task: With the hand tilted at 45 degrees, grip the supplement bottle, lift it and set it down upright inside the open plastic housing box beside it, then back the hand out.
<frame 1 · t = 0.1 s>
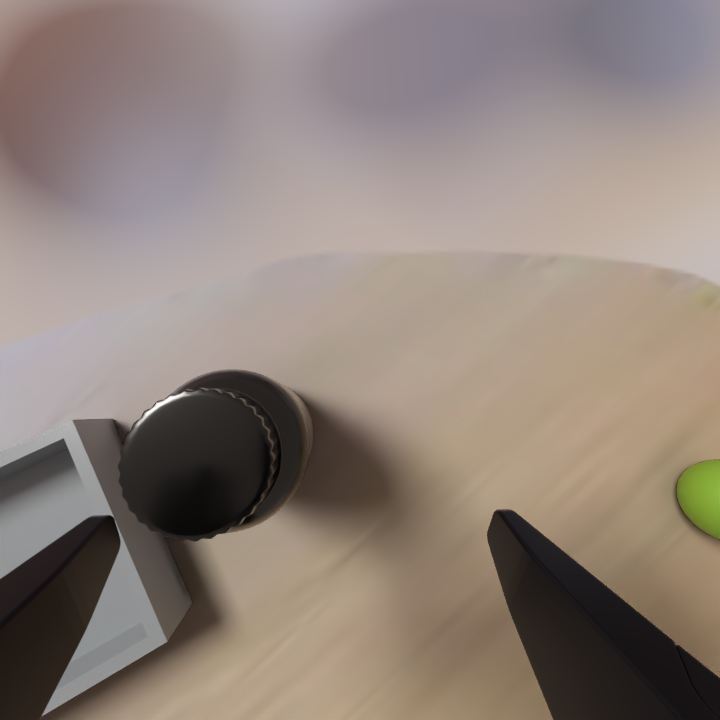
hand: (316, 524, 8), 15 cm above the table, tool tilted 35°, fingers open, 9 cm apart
snail figurine: (681, 485, 26), on the table
housing box: (46, 562, 20), on the table
supplement bottle: (262, 434, 23), on the table
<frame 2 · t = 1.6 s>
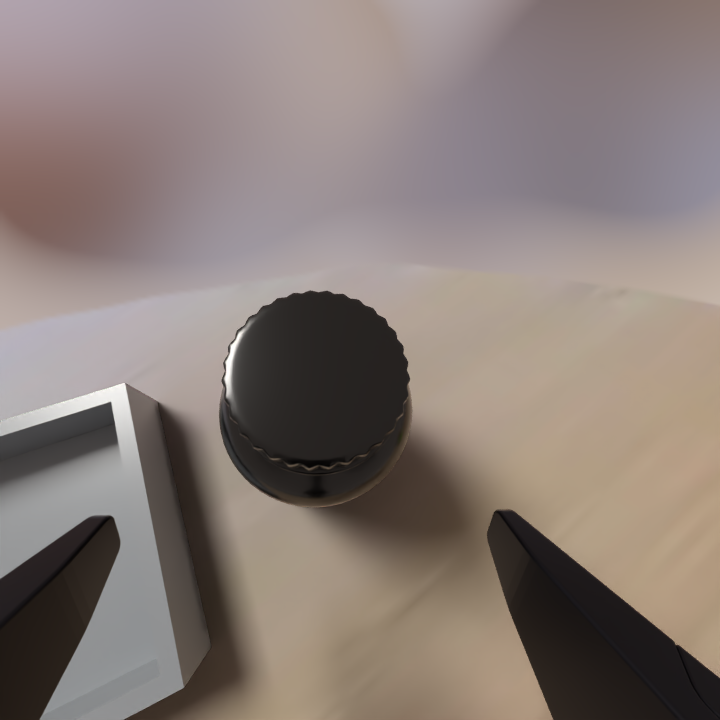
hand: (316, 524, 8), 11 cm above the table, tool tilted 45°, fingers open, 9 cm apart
housing box: (43, 566, 16), on the table
supplement bottle: (318, 437, 20), on the table
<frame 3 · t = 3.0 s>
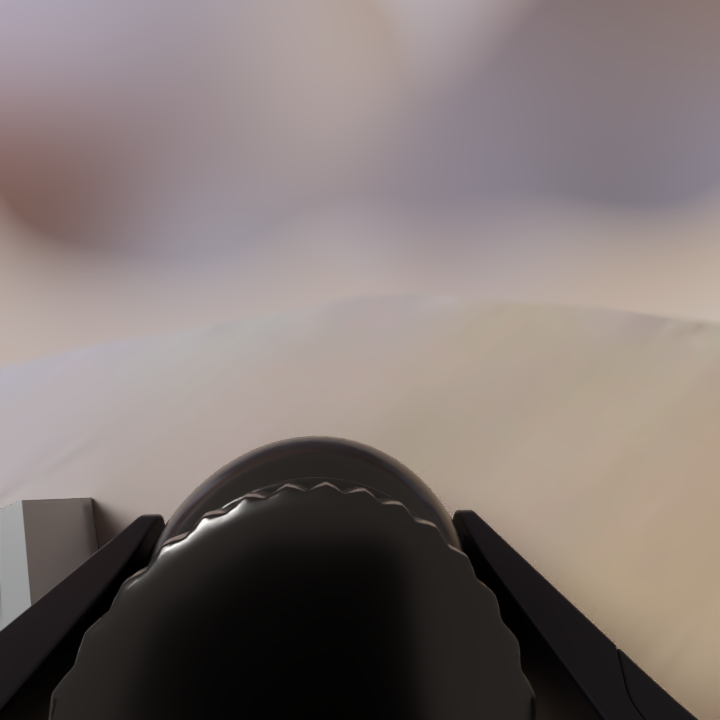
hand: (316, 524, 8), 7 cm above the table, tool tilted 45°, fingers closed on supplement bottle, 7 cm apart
supplement bottle: (314, 543, 14), on the table, touching gripper
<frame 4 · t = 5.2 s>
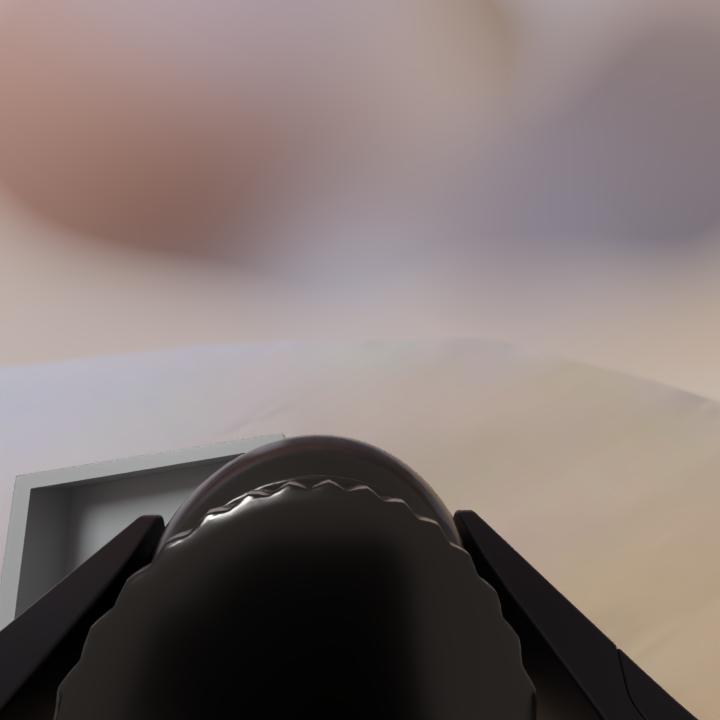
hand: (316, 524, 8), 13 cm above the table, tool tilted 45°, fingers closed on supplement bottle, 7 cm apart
housing box: (184, 574, 18), on the table
supplement bottle: (316, 542, 14), point 6 cm above the table, touching gripper
when the fingers open (9 cm above the table, at t = 7.3 s): supplement bottle drops 1 cm, resting on housing box.
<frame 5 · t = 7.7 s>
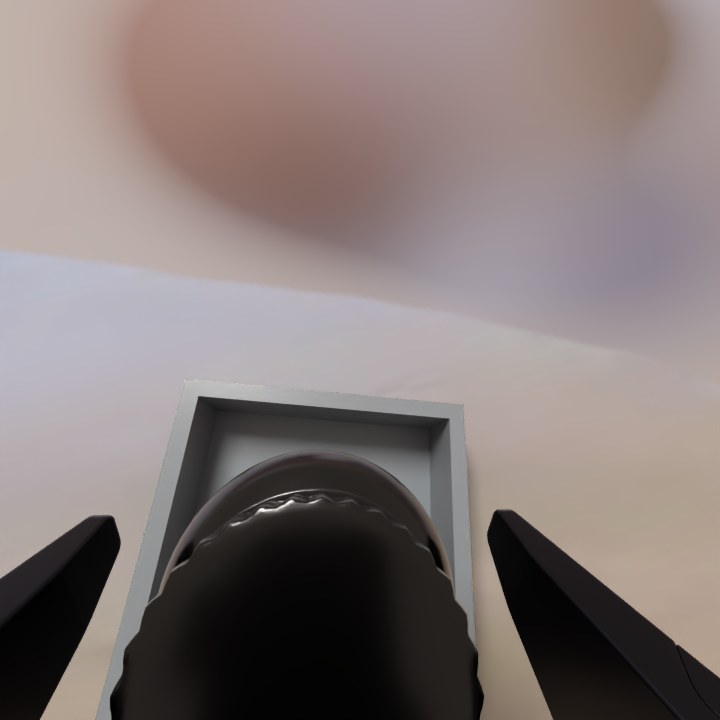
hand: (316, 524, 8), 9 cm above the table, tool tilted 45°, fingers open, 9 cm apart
housing box: (314, 537, 16), on the table
supplement bottle: (314, 543, 16), resting on housing box
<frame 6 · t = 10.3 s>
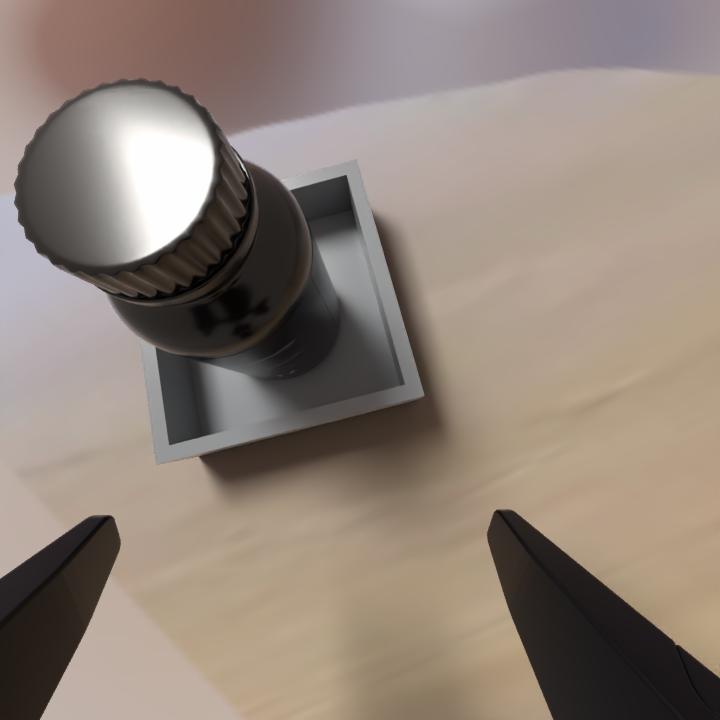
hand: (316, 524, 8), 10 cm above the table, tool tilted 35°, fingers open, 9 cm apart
housing box: (283, 323, 20), on the table
supplement bottle: (283, 323, 19), resting on housing box
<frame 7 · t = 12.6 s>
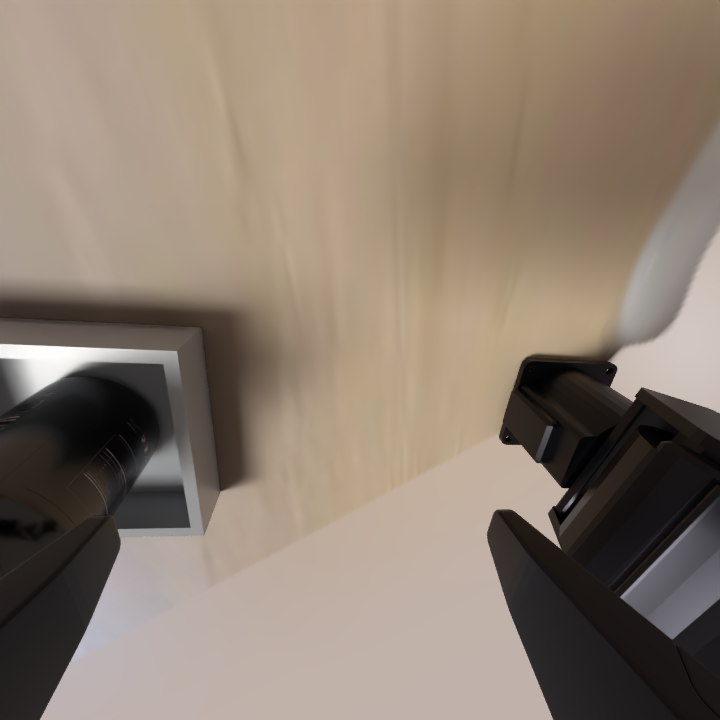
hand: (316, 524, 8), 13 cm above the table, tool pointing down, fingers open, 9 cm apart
housing box: (107, 417, 21), on the table
supplement bottle: (106, 420, 20), resting on housing box
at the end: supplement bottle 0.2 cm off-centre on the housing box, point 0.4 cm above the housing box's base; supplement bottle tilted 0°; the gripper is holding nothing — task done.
